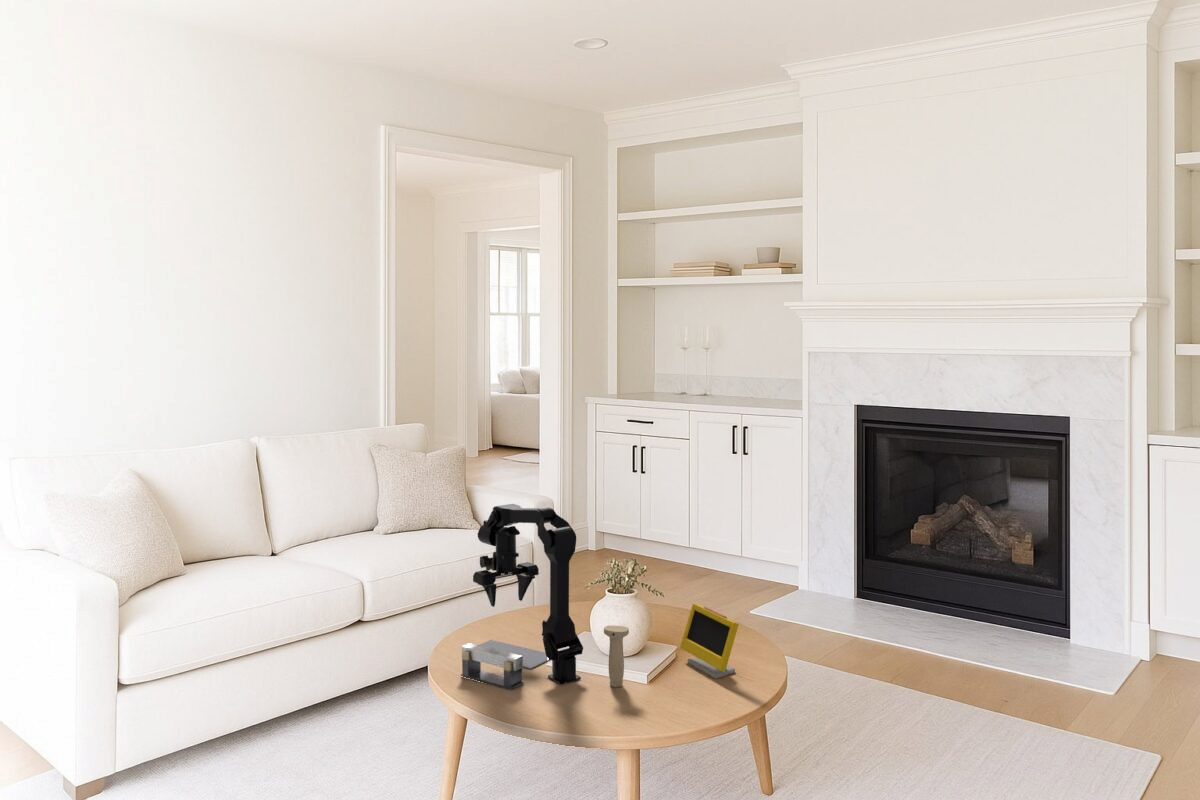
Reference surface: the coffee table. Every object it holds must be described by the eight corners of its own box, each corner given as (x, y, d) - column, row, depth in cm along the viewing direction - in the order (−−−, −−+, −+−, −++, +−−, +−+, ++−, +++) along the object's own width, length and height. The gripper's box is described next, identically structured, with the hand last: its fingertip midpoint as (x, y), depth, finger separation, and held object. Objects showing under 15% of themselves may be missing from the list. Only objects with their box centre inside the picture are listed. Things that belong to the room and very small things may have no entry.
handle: (607, 680, 247) (607, 624, 246) (631, 683, 245) (631, 627, 244) (601, 687, 243) (601, 630, 242) (625, 690, 241) (625, 632, 239)
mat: (557, 656, 265) (557, 655, 265) (530, 669, 255) (530, 668, 255) (490, 641, 278) (490, 639, 278) (463, 652, 268) (463, 651, 268)
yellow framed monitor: (679, 659, 263) (680, 604, 262) (703, 655, 266) (703, 600, 265) (720, 683, 245) (721, 624, 244) (745, 678, 249) (746, 619, 248)
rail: (522, 667, 243) (522, 655, 243) (515, 670, 241) (515, 659, 240) (469, 653, 253) (469, 643, 253) (461, 657, 250) (461, 646, 250)
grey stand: (523, 684, 245) (523, 658, 244) (511, 690, 240) (511, 663, 240) (473, 671, 254) (473, 645, 253) (461, 677, 250) (460, 651, 249)
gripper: (517, 539, 279) (518, 591, 280) (462, 549, 267) (463, 603, 268) (539, 546, 270) (540, 599, 271) (483, 556, 259) (484, 612, 260)
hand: (506, 603), depth 268 cm, fingers open, 9 cm apart
